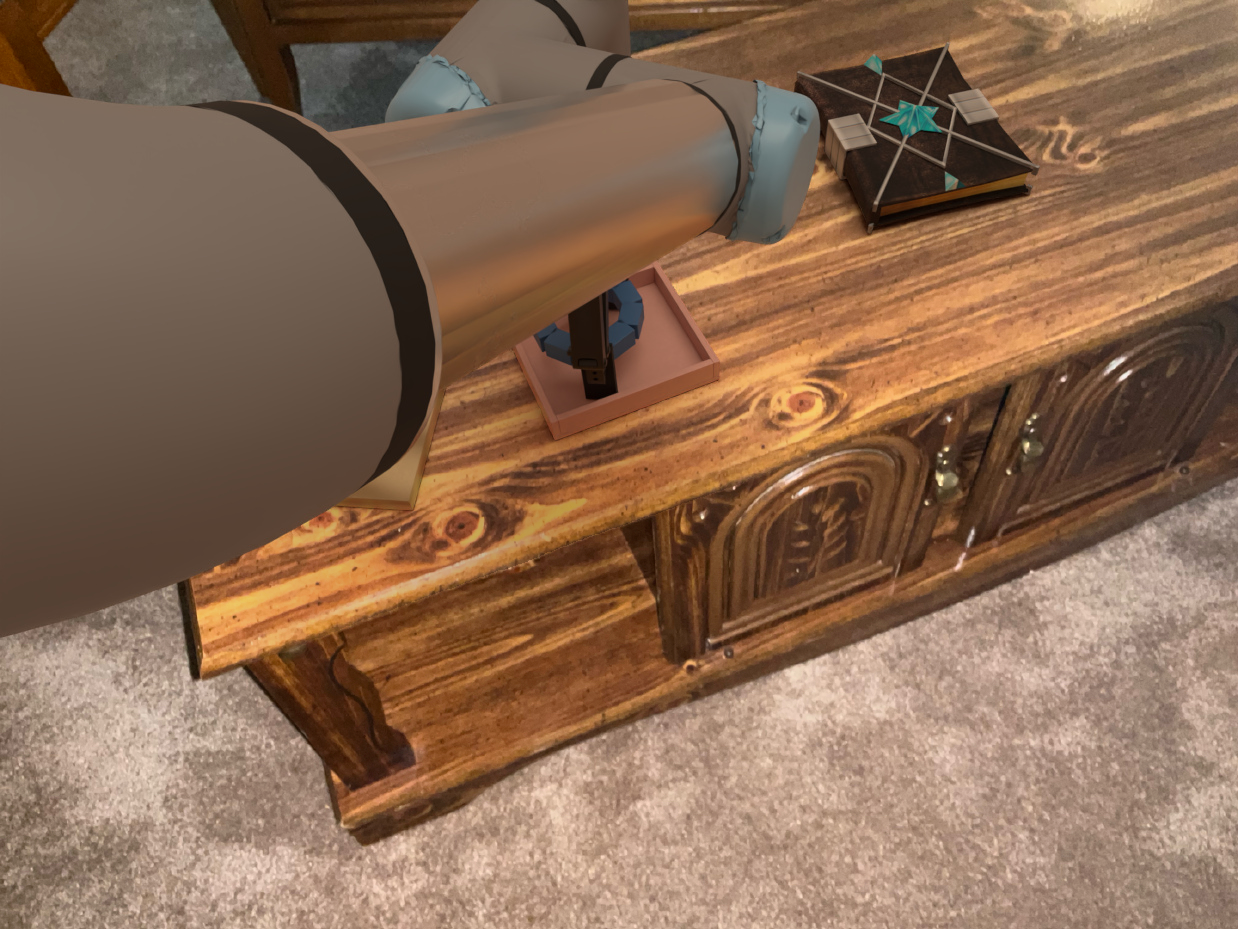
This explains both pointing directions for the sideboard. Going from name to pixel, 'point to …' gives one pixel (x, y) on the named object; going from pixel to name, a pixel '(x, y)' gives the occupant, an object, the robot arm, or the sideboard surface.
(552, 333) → the ring
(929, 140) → the book
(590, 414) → the tray
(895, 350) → the sideboard surface
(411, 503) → the tan post with base
